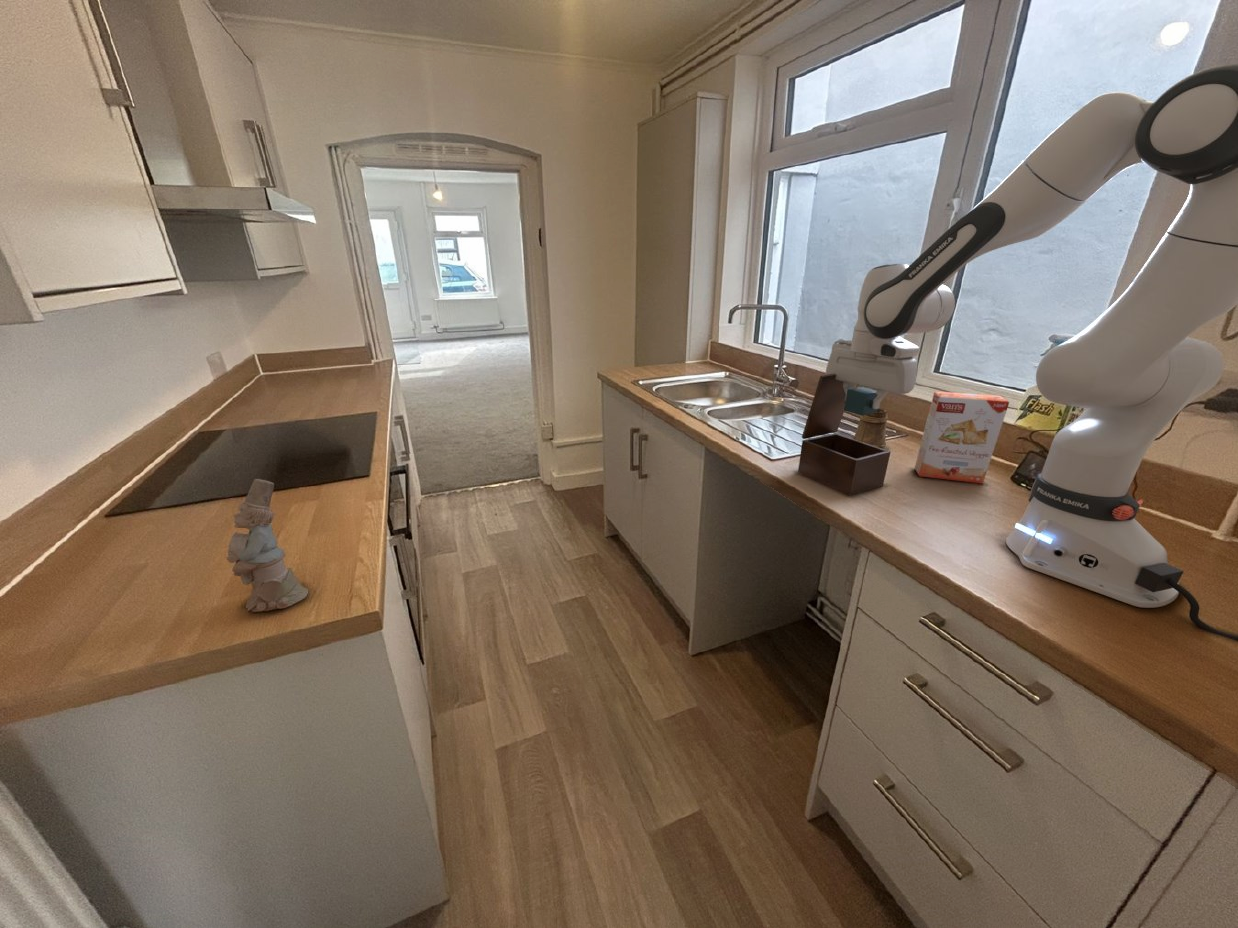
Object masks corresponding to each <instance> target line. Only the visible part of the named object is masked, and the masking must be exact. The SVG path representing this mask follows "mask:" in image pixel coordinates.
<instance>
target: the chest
mask: <svg viewBox="0 0 1238 928" xmlns="http://www.w3.org/2000/svg"><path fill="white" fill-rule="evenodd" d="M890 456H891V451H890V450H887V449H885V450H884V449H882V448H879V447H876V446H873V445H870V444H867V443H864V442H861V441H858V440H855V439H853V437H850V436H846V435H842V434H840V433H837V432H834V433H830V434H825V435H820V436H816V437H811V438H807V439H803V440H802V441H801V448H800V454H799V462H798V469H797V473H798V474H800V475H802V476H804V477H807V478H809V479H811V480H814V481H815V482H818V483H820V484H822V485H825V486H827V487H829V488H831V489H834V490H835V491H837V492H840V493H842V494H844V495H846V496H853V495H857V494H860V493H863V492H867V491H869V490H873V489H877V488H879V487H883V486H884V484H885V479H886V475H887V470H888V465H889V461H890Z"/></svg>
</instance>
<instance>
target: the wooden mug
mask: <svg viewBox="0 0 1238 928" xmlns="http://www.w3.org/2000/svg"><path fill="white" fill-rule="evenodd" d="M859 387H864V388H868V389H872V390H876V389H873V388H869V387H865V386H861V385H856V387H855V388H859ZM888 417H889V416H888V410H887V409H885V408H880V407H879V408H878V409H877V413H873V414H868V415H863V416H862V415H859V417H858V418H859V421H858V422H859V423H858V425H857V427H856V430H855V433H854V436H853V437H852V439H855V440H858V441H861V442H864V443H867V444H870V445H873V446H876V447H879V448H882V449H884V450H887V442H886V440H887V439H886V436H887V423H888Z"/></svg>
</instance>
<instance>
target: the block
mask: <svg viewBox="0 0 1238 928" xmlns="http://www.w3.org/2000/svg"><path fill="white" fill-rule="evenodd" d="M877 395H878V394H876V390H872V389H868V388H864V387H859V388H856V387H855V388H852V389H848V390H847V396H846V401H845V407H844V412H848V413H851V414H855V415H858V416H860V415H862V416H863V415H868V414H873V413H877V409H873V408H869V403H870V400H874V399H875V398H876V397H877Z"/></svg>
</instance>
